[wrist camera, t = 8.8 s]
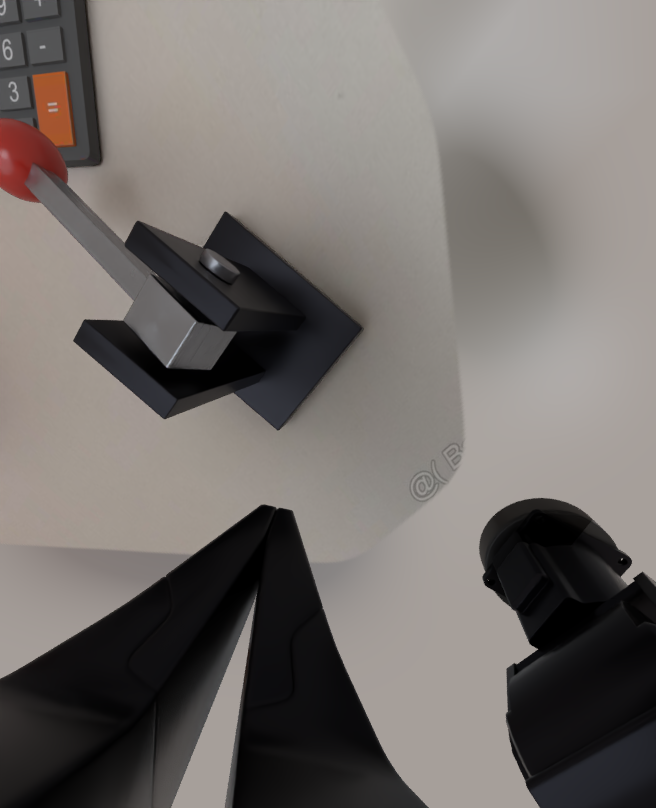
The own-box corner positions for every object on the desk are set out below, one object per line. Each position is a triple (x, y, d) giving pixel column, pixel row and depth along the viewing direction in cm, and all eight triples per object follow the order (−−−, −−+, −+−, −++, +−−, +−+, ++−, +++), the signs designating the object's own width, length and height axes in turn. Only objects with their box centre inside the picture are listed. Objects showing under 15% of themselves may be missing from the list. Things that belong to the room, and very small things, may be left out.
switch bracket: (167, 326, 22) (-1, 323, 13) (234, 217, 20) (89, 116, 10) (284, 425, 22) (201, 497, 13) (364, 328, 20) (336, 327, 10)
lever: (33, 192, 18) (-50, 155, 15) (57, 135, 17) (-27, 83, 14) (211, 380, 15) (150, 380, 12) (251, 322, 14) (196, 307, 11)
